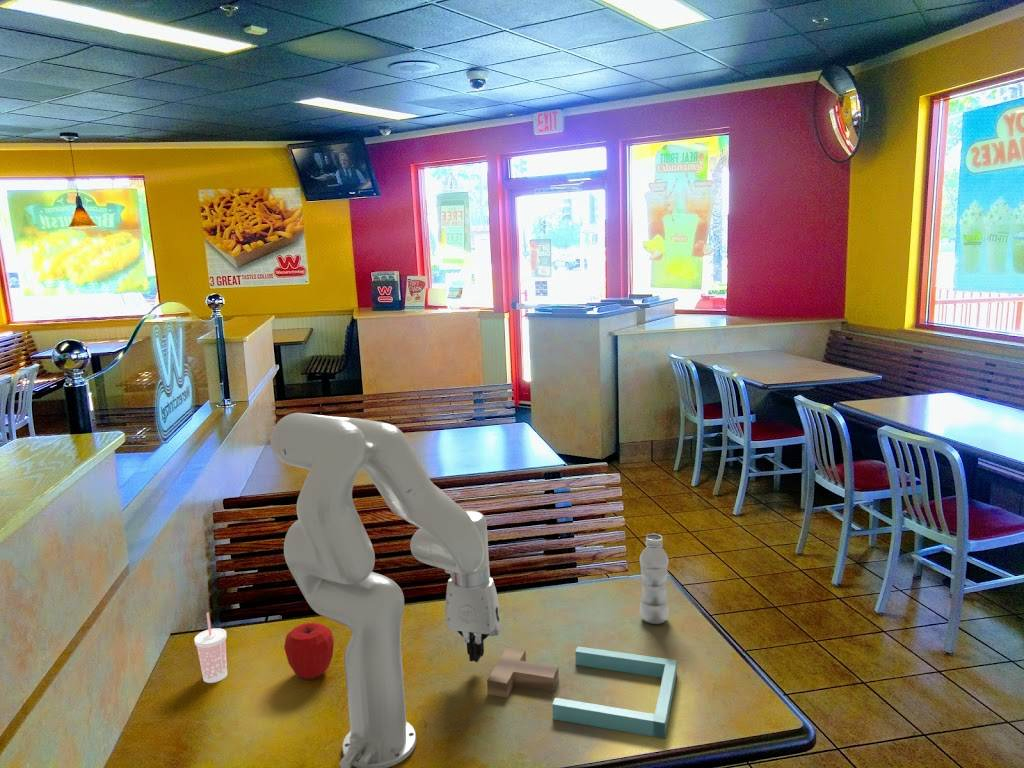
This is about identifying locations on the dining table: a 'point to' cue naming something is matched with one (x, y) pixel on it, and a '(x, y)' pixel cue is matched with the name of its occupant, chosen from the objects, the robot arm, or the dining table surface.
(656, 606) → the plastic bottle
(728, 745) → the dining table surface
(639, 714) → the teal corral
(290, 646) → the apple
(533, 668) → the walnut T-block
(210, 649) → the beverage cup
